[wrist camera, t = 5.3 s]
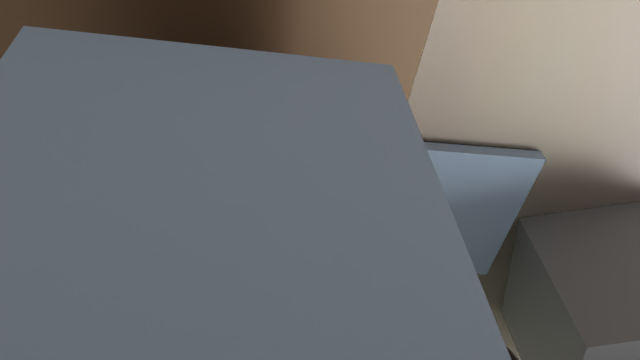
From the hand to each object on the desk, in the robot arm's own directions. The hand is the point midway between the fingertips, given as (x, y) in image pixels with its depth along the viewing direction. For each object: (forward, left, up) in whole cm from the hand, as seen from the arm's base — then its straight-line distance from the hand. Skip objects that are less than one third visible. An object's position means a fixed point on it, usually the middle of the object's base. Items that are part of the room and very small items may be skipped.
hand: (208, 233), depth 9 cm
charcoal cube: (-13, +7, -7) cm, 16 cm away
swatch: (-7, +5, -6) cm, 11 cm away
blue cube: (0, 0, -1) cm, 1 cm away
